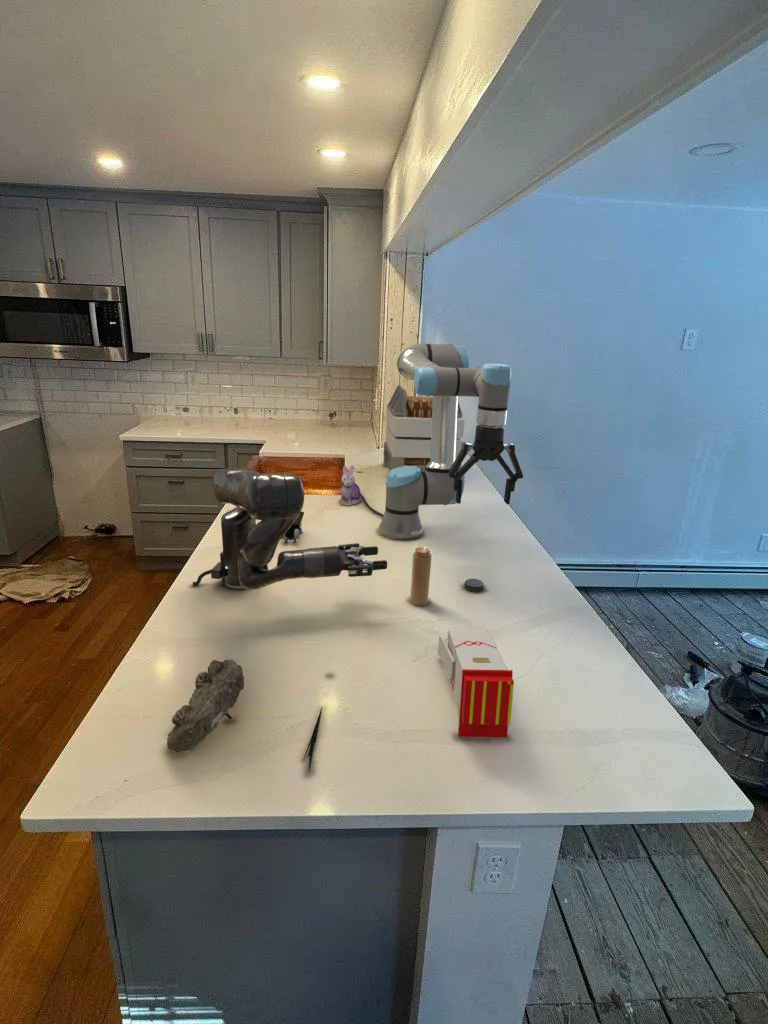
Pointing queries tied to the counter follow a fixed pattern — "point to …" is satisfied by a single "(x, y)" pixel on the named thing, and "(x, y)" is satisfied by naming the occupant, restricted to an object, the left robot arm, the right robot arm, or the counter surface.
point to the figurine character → (294, 530)
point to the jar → (420, 576)
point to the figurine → (349, 488)
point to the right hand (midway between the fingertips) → (482, 502)
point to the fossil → (206, 705)
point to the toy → (478, 682)
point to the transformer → (412, 430)
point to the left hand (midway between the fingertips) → (382, 557)
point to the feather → (313, 740)
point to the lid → (474, 585)
